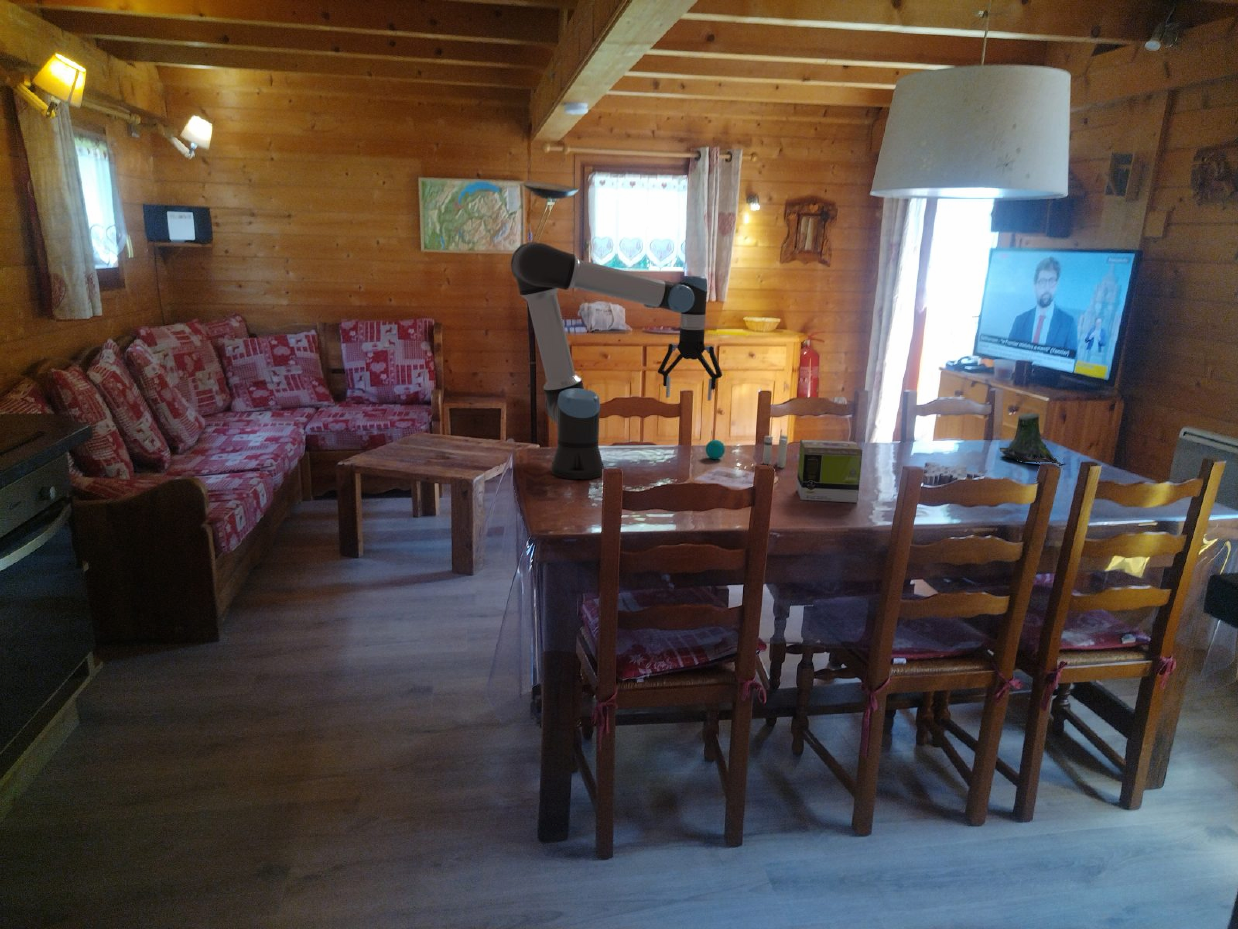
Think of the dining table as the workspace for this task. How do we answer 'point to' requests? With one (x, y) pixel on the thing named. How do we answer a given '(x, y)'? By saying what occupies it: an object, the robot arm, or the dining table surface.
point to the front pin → (767, 449)
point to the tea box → (829, 470)
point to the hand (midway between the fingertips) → (688, 398)
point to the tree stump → (1028, 442)
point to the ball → (715, 449)
